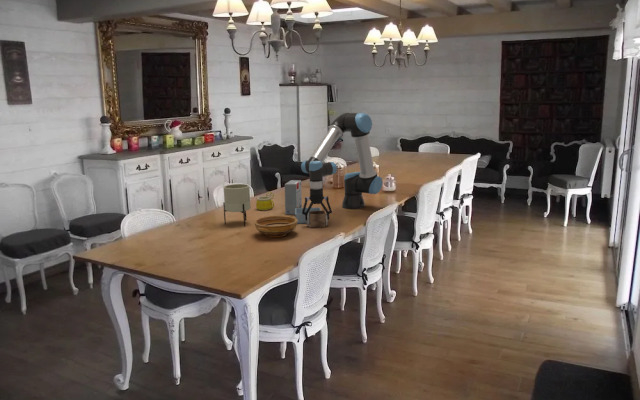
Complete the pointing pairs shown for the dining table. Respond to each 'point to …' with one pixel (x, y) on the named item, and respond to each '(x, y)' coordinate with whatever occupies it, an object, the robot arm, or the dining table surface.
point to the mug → (265, 202)
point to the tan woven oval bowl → (275, 225)
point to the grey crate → (301, 216)
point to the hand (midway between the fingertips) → (317, 225)
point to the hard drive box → (293, 196)
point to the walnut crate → (317, 219)
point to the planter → (237, 199)
